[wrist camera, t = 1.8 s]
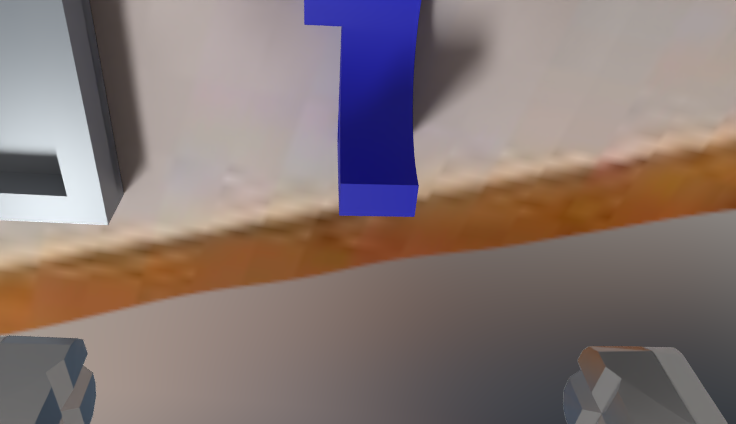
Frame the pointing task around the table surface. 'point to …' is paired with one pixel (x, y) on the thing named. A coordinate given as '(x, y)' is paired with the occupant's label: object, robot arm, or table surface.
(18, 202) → the tray
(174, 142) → the table surface
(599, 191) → the table surface
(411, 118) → the blue angular stepped piece
